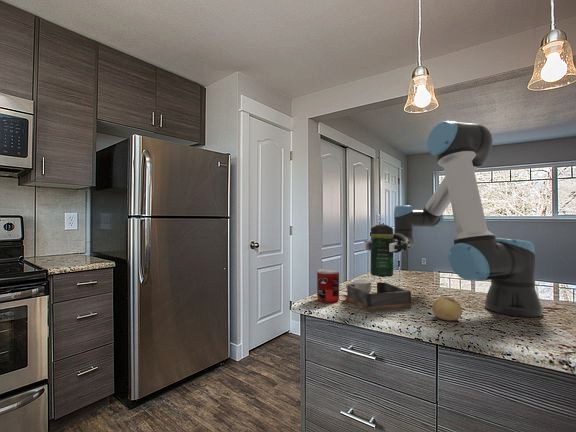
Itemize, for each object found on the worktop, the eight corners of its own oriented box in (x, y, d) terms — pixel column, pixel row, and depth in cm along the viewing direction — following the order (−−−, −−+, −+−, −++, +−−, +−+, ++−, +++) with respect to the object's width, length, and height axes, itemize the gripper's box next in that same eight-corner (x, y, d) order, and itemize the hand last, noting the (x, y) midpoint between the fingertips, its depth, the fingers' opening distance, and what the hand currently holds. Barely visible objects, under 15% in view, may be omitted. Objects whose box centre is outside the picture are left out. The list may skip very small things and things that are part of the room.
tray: (410, 307, 103) (410, 291, 103) (368, 311, 99) (368, 294, 99) (383, 296, 118) (383, 282, 118) (346, 299, 114) (346, 284, 114)
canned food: (315, 298, 116) (315, 269, 116) (335, 297, 117) (335, 268, 117) (319, 303, 108) (319, 272, 108) (341, 302, 109) (341, 272, 109)
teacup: (369, 292, 124) (369, 279, 124) (373, 297, 117) (373, 283, 117) (344, 292, 125) (344, 279, 125) (346, 297, 118) (346, 282, 118)
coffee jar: (394, 278, 105) (394, 224, 105) (370, 277, 107) (370, 224, 107) (392, 273, 114) (392, 223, 114) (371, 272, 117) (370, 223, 117)
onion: (428, 319, 91) (428, 295, 91) (436, 313, 97) (436, 290, 97) (459, 325, 86) (458, 300, 86) (464, 318, 92) (464, 294, 92)
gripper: (424, 253, 119) (408, 260, 101) (371, 250, 132) (349, 255, 113) (424, 234, 119) (408, 237, 101) (371, 233, 132) (349, 235, 113)
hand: (377, 247), depth 107 cm, fingers closed on coffee jar, 8 cm apart
